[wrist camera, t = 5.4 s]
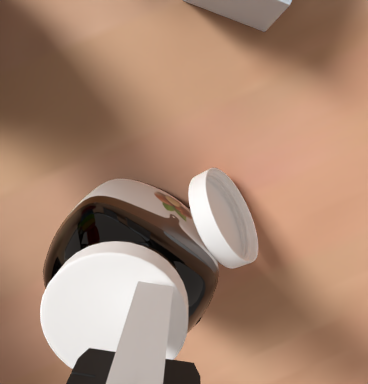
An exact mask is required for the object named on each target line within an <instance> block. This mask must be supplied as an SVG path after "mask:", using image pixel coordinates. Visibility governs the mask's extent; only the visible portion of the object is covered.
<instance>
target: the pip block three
mask: <svg viewBox="0 0 368 384" xmlns="http://www.w3.org/2000/svg"><path fill="white" fill-rule="evenodd" d="M183 1H185V2H188V3H190V4H193V5H195V6H198V7H201V8H203V9H206V10H208V11H211V12H214V13H216V14H219V15H222V16H224V17H227V18H229V19H232V20H235V21H237V22H240V23H242V24H245V25H248V26H250V27H253V28H255V29H258V30H261V31H263V32H265V31H266V30H267V29H268V28H269V27H270V26H271V25H272V24H273V23H274V22H275V21H276V20H277V19H278V18H279V16H280V15H281V14H282V13H283V12H284V11H285V10H286V9H287V8H288V7H289V6H290V4H291V2H292V0H183Z"/></svg>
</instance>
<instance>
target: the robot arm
mask: <svg viewBox="0 0 368 384" xmlns="http://www.w3.org/2000/svg"><path fill="white" fill-rule="evenodd" d="M172 293H173V287H172V286H166V285H159V284H153V283H147V282H141V281H138V283H137V286H136V289H135V292H134V296H133V299H132V302H131V305H130V308H129V311H128V315H127V318H126V321H125V324H124V327H123V331H122V334H121V337H120V340H119V343H118V346H117V350H116V352H113V351H106V350H100V349H93V348H89V349H88V350H86V351H85V352H84V353H83V354H82V355H81V356H80V357H79V358H78V359H77V361H76V364H75V366H74V368H73V370H72V373H71V374H70V377H69V379H68V381H67V383H66V384H200V375H199V373H198V371H197V369H196V367H195V365H194V363H190V362H184V361H177V360H171V359H166V350H167V340H168V331H169V321H170V312H171V302H172Z"/></svg>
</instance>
